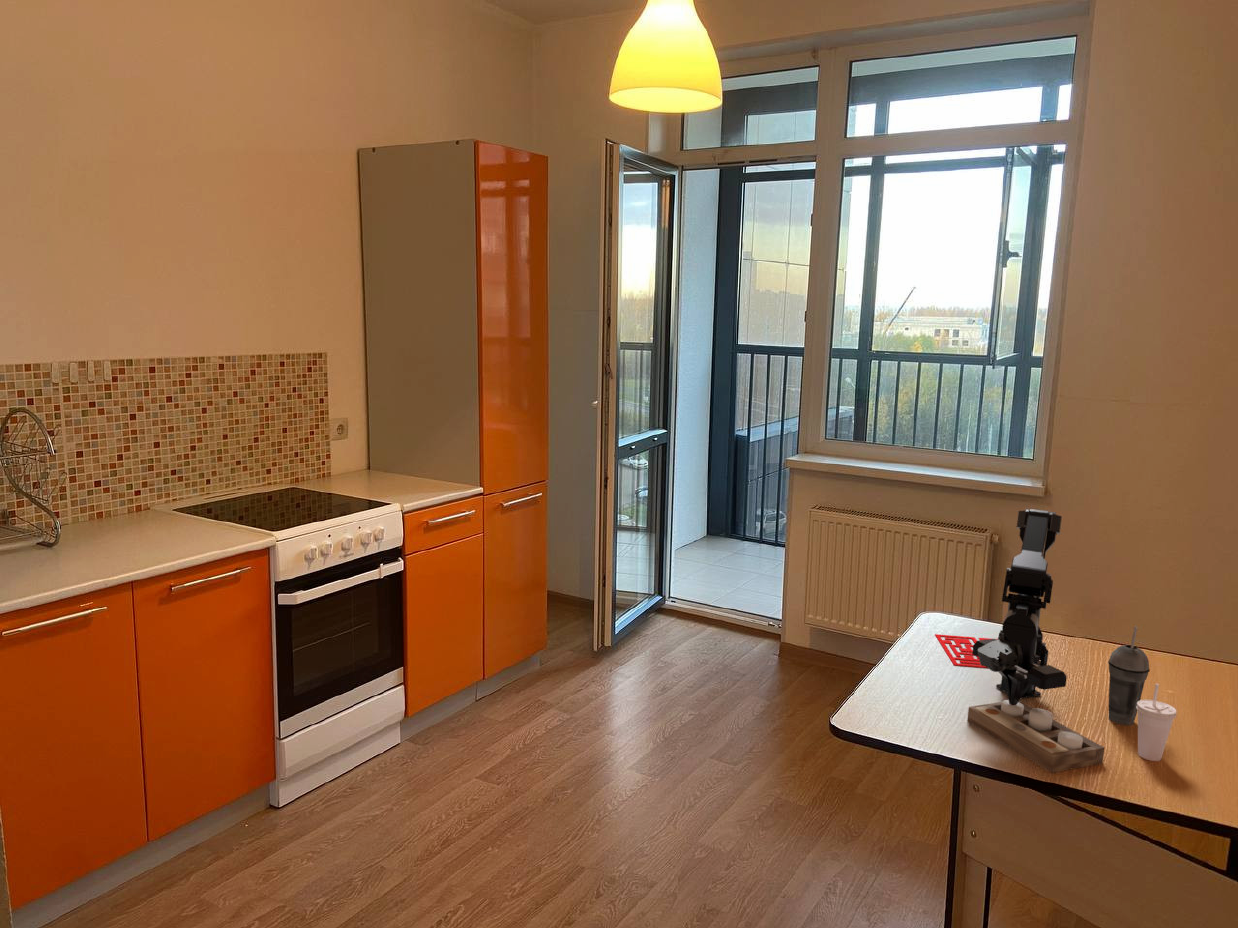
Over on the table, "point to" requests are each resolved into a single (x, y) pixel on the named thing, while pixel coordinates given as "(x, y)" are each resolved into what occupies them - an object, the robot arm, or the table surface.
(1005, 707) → the button
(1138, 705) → the smoothie
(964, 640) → the maze puzzle
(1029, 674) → the robot arm
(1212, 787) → the table surface
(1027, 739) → the button board
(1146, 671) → the beverage cup
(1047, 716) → the button middle
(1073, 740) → the button
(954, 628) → the table surface
